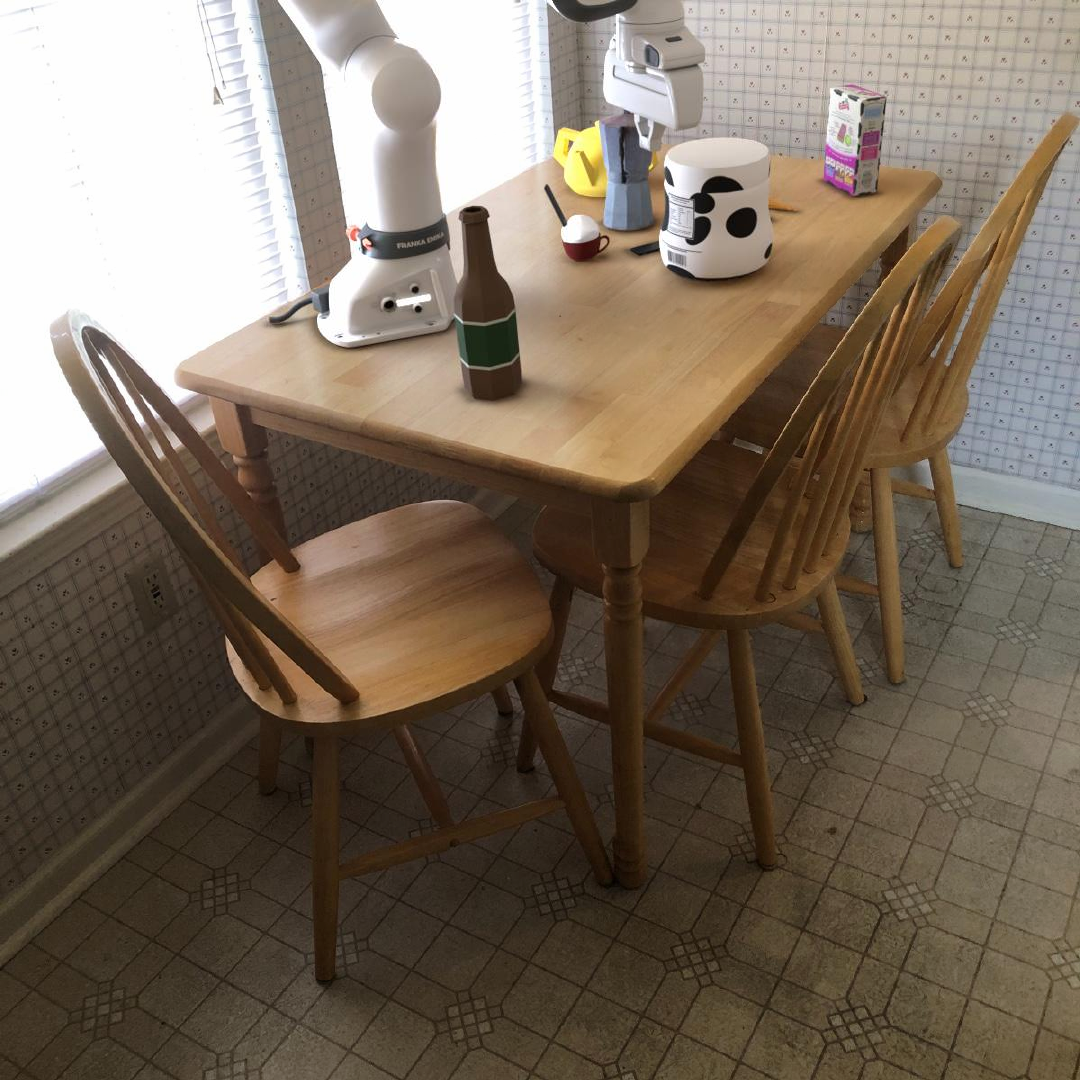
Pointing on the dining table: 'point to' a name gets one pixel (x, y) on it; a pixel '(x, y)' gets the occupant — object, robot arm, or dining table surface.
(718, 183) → the milk container
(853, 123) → the candy bar box
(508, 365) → the beer bottle
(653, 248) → the ruler
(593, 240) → the cocoa
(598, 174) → the teapot
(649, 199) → the moka pot
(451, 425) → the dining table surface
